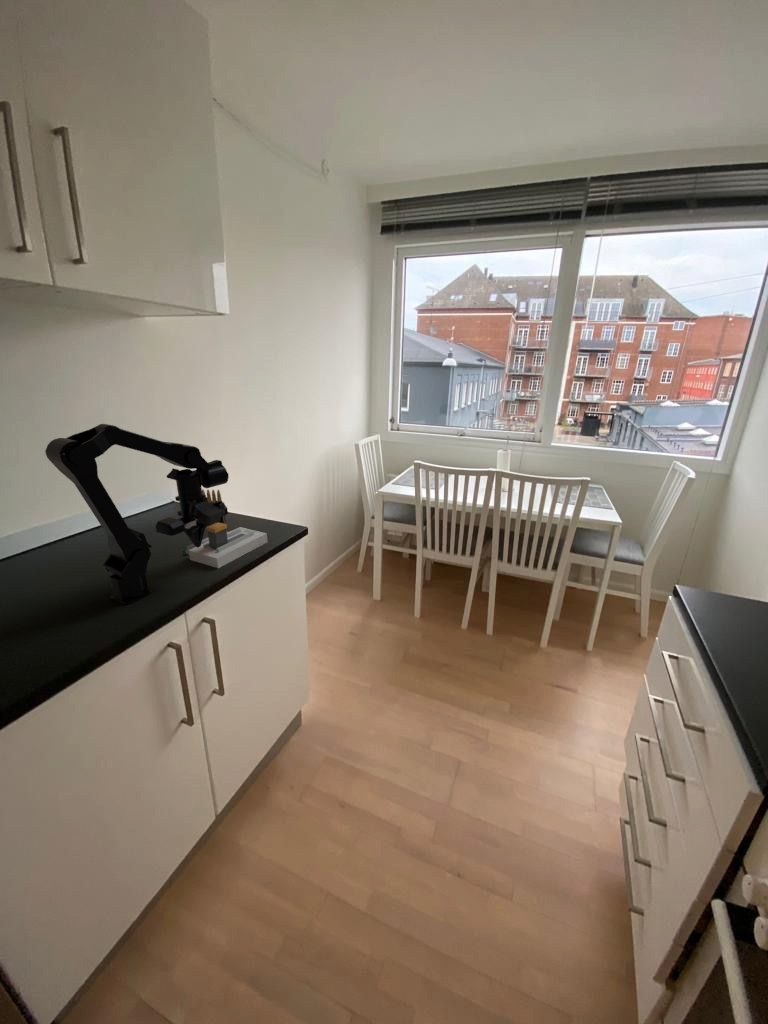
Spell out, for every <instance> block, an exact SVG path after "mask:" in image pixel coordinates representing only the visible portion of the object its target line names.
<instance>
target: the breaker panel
mask: <svg viewBox="0 0 768 1024" xmlns="http://www.w3.org/2000/svg"><path fill="white" fill-rule="evenodd" d="M227 532H228V531H227ZM227 539H228V543H227V544H225V545H223V546H221V547H219V548H217V549H216V548H213V547H210V545H209V541H208V542H206V543H204V544H201V546H200V547H198V548H197V547H195V548H193V549H190V550H189V554H188V555H189V560H190V561H192V562H196V563H199V564H203V565H206V566H209V567H213V568H216V569H220V568H221V567H223V566H226V565H227V564H229V563H232V562H233V561H235V560H237V559H239V558H240V557H242V556H245V555H246V554H249V552H252V551H254V550H255V549H257V548H260V547H261V546H263V545H265V544H267V543H268V533H267V532H262V531H258V530H256V529H254V530H253V529H249V528H245V527H242V526H240V527H237V528H235V529H233V530H231V531H229V532H228V533H227Z"/></svg>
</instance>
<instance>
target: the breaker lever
mask: <svg viewBox="0 0 768 1024" xmlns="http://www.w3.org/2000/svg"><path fill="white" fill-rule="evenodd" d="M227 528H228V525H227V524H226V523H213V524H212V525H210V526H207V527H206V528H205V531H206V532H207V538H209V545H210V547H213V548H216V549H217V548H219V547H221V546H223V545H225V544H227V543H228V539H227V532H228V531H227Z"/></svg>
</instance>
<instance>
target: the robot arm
mask: <svg viewBox="0 0 768 1024" xmlns="http://www.w3.org/2000/svg"><path fill="white" fill-rule="evenodd" d="M114 445H117V446H120V447H123V448H127V449H130V450H135V451H138V452H141V453H146V454H149V455H152V456H156V457H158V458H159V459H160V460H162V461H165V462H167V463H169V464H172V465H174V466H176V467H177V466H178V467H180V468H181V467H182V468H184V469H181V470H179V469H177V468H173V467H172V469H171V470H170V472H169V473H168V474H167V475H166V478H167V479H170V480H174V481H175V482H176V488H177V489H176V490H177V495H178V496H175V497H174V498H175V499H174V500H175V501H176V502H179V508H180V509H179V511H177V516H179V517H180V518H174V517H170V516H169V517H166V518H164V519H161V520H158V521H157V522H156V524H155V530H156V533H159V534H163V535H166V536H171V537H172V536H176V535H179V534H181V533H183V532H184V533H185V534H186V536H187V537H188V539H189V540H190V541H191V542H192V544H194V545H195V547H197V548H198V547H200V546H201V543H202V540H203V538H204V534H205V531H206V527H208V526H211V525H213V524H216V522H219V521H220V517H221V516H224V515H225V516H227V515H228V514H229V511H228V507H227V506H226V504H225V502H224V501H223V500H222V501H218V502H211V503H208V501H207V494H205V495H202V489H210V488H213V487H214V488H215V487H218V486H220V485H221V486H223V485H225V484H227V483H228V481H229V478H230V477H229V472H228V471H227V468H226V467H225V466H224V465H223V461H222V460H219V459H214V460H211V461H209V462H208V461H207V460H206V459H205V458H204V457H203V456H202V453H201V450H200V449H199V448H198V447H197V446H194V445H189V444H183V443H179V442H178V443H177V442H169V441H168V442H167V441H163V440H162V441H161V440H159V439H155V438H153V437H150V436H146V435H143V434H139V433H136V432H133V431H129V430H126V429H123V428H120V427H119V426H116V425H113V424H108V423H99V424H97V425H96V426H93V427H92V428H89V429H87V430H84V431H81V432H78V433H74V434H72V435H70V436H68V437H67V436H66V437H59V438H54V439H53V440H51V441H50V442H49V443H48V444H47V446H46V448H45V451H44V452H45V455H46V458H47V459H48V461H50V463H51V464H52V465H54V467H55V468H56V469H57V470H58V471H59V472H60V473H61V474H62V475H63V476H65V477H66V478H67V479H69V481H70V482H71V483H73V484H74V486H75V488H76V489H77V491H78V492H79V493H80V495H81V497H82V498H83V500H84V501H85V503H86V505H87V506H88V507H89V509H90V511H91V513H93V515H94V516H95V518H96V520H97V521H98V523H99V525H100V526H101V528H102V529H103V530H104V532H105V534H106V536H107V546H108V547H109V550H110V554H109V556H108V557H107V558H106V560H105V561H104V563H103V564H102V567H103V568H104V570H105V571H106V572H107V573H110V574H111V575H110V576H109V581H110V585H111V590H112V594H111V595H110V596H109V598H110V599H111V600H114V601H115V602H116V601H117V602H119V603H122V604H123V605H130V604H132V603H134V602H136V601H138V600H139V599H142V598H143V597H145V596H147V595H149V594H151V593H152V589H149V584H148V578H147V569H148V564H149V560H150V558H151V556H152V552H151V548H152V547H153V546H152V545H151V544H149V543H148V541H147V538H146V536H145V534H144V533H142V531H141V532H140V531H138V530H135V529H133V528H129V526H128V525H127V522H126V521H125V519H124V518H123V516H122V514H121V513H120V511H119V509H118V508H117V506H116V504H115V502H114V501H113V499H112V498H111V496H110V495H109V492H107V489H106V488H105V486H104V485H103V483H102V481H101V480H100V478H99V475H98V473H99V472H98V464H97V461H96V458H98V457H100V456H102V455H104V454H105V452H107V451H108V450H109V449H110V448H111V447H113V446H114ZM193 469H194V470H193ZM202 487H203V488H202Z"/></svg>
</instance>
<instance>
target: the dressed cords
mask: <svg viewBox="0 0 768 1024" xmlns="http://www.w3.org/2000/svg"><path fill="white" fill-rule="evenodd" d="M228 532H230V531H227V533H228ZM208 541H209V538H208V537H205V538H204V539H202V543H201V544H204V543H206V542H208ZM193 548H195V545H194V544H193V543H192V544H189V545H187V546H186V550H184V551H185V554H186V555H189V550H190V549H193Z"/></svg>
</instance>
